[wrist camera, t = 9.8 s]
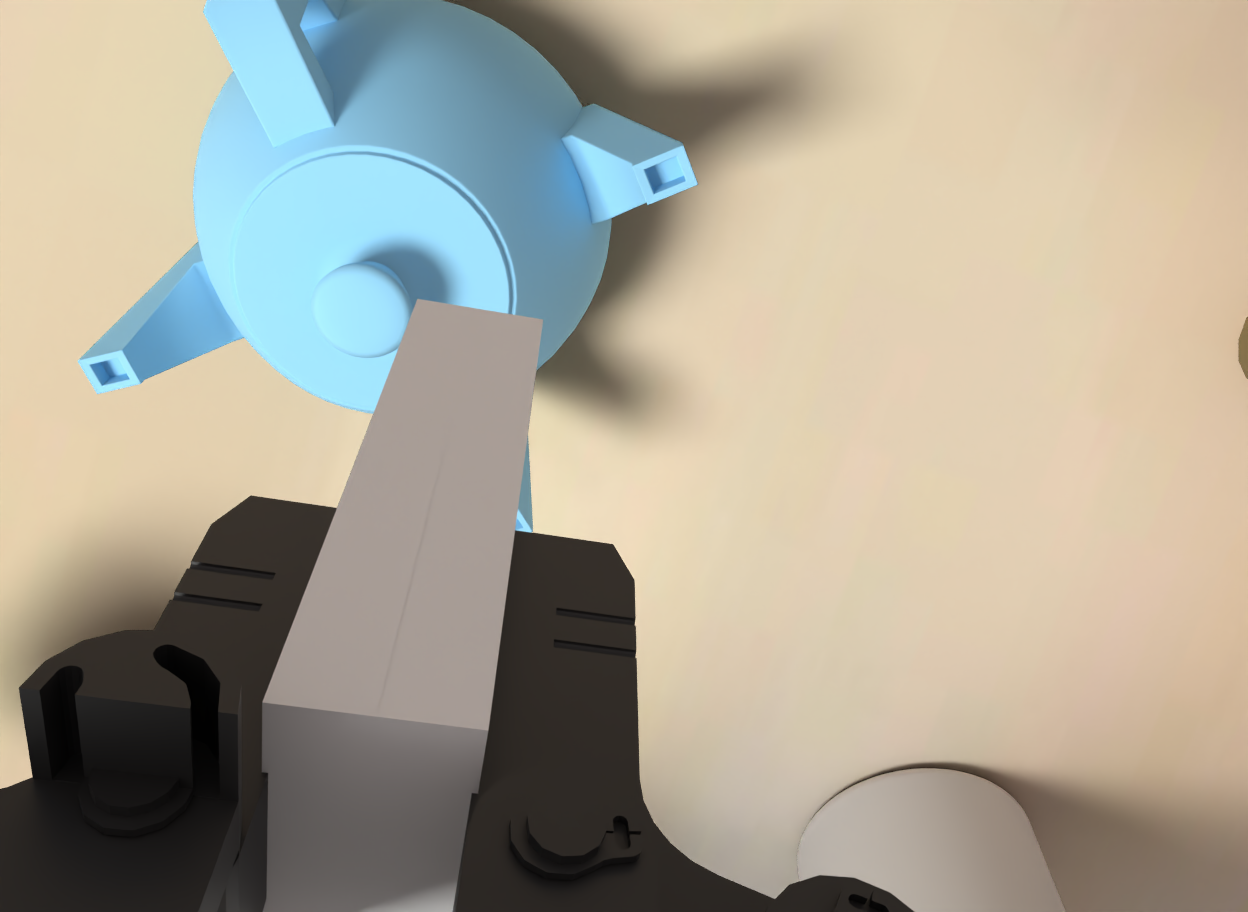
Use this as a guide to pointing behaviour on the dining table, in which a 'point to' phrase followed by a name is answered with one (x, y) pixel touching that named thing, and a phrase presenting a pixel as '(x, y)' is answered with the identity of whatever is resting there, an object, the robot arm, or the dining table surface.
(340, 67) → the teapot
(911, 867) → the cylinder vase
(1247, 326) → the olive game pawn
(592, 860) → the robot arm
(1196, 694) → the dining table surface
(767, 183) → the dining table surface
